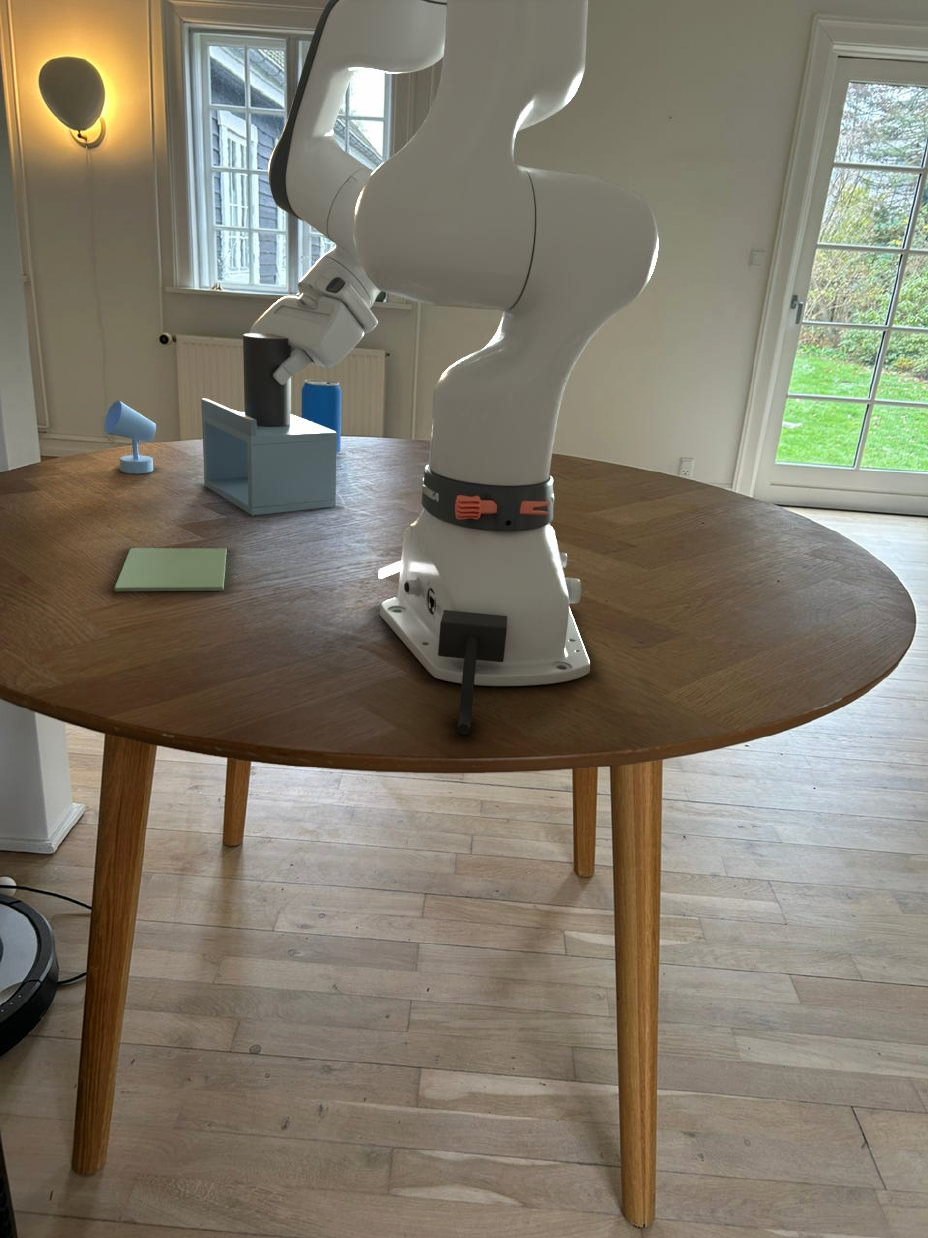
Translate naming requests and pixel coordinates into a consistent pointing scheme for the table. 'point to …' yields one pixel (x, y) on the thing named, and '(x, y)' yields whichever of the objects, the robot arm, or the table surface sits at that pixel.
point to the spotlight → (130, 435)
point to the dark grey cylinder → (266, 380)
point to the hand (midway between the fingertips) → (263, 376)
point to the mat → (173, 569)
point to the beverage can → (323, 404)
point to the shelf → (268, 462)
